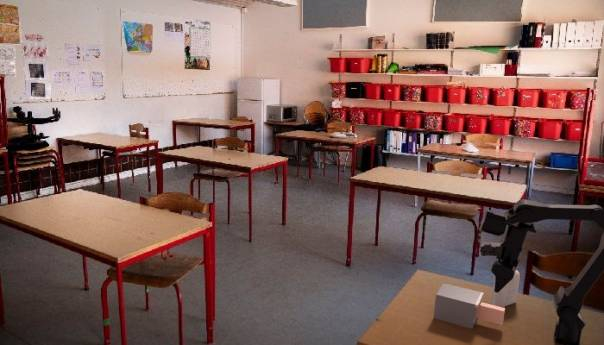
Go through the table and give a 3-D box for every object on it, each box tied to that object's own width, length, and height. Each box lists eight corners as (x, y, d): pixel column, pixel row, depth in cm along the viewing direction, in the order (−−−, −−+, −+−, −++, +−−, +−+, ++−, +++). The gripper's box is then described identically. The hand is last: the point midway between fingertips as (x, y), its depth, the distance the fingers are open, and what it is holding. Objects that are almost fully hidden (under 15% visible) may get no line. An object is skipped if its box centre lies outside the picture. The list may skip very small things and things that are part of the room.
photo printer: (507, 297, 177) (511, 264, 174) (518, 302, 173) (523, 269, 171) (488, 304, 171) (493, 270, 169) (499, 309, 168) (504, 275, 165)
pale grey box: (480, 316, 163) (483, 292, 161) (474, 329, 154) (478, 305, 152) (441, 305, 169) (443, 283, 167) (433, 318, 160) (436, 294, 158)
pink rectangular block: (503, 322, 156) (505, 308, 155) (502, 325, 154) (504, 311, 153) (451, 308, 163) (452, 294, 162) (449, 311, 161) (451, 297, 160)
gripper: (491, 224, 161) (477, 267, 165) (481, 239, 145) (466, 286, 149) (528, 236, 156) (512, 281, 161) (521, 253, 140) (504, 302, 144)
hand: (498, 287), depth 154 cm, fingers open, 9 cm apart
